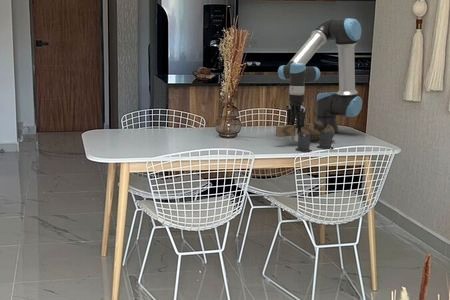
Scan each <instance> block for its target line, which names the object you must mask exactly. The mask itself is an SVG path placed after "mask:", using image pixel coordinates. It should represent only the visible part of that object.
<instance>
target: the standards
mask: <svg viewBox="0 0 450 300" xmlns="http://www.w3.org/2000/svg"><path fill="white" fill-rule="evenodd" d="M331 138H332V131H328V132H327V134H325V130H320V141H319V144H318V145H316V148H317V149H323V150H325V149H330V148H333V149H334V147H333V146H332V141H331ZM332 139H333V138H332ZM310 142H311V141H310V133H308V134H305V135H303V132H298V141H297V148H295V149H294V150H295V151H298V152H300V153H311V152H310V151H313V150H312V149H310V145H311V143H310ZM330 150H331V149H330Z"/></svg>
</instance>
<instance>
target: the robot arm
mask: <svg viewBox="0 0 450 300" xmlns="http://www.w3.org/2000/svg"><path fill="white" fill-rule="evenodd" d="M361 36H362V26H361V23H360V22H359V21H358V19H355V18H349V17H348V18H347V17H345V18H328V19H326V20H325V21H324V20H323V22H321V23H320V24H318V25H317V26H316V27H315V28H314V29H313V30H312V32H311V33H310V37H309V38H308V39H307V40H306V41H305V42H304V44H303V45H302V46H301V47H300V48H299V50H298V51H297V52H296V53H295V54H294V56H293V57H292V58H291V59H290V60H289V61H288V63H287V64H286V65H285V64H284V65H280V66H279V67H278V69H277V75H278V78H279V79H281V80H284V81H285V80H286V81H289V89H288V90H289V94H288V102H289V105H285V108H286V125H297V127H296V130H295V136H289V140H290V141H292V140H294V142H298V132H301V128H302V127H304V125H305V124H306V123H305V122H306V112H307V108H305V107H304V106H303V103H304V101H305V95H304V94H305V85H306V84H305V82H311V83H312V82H317V81H318V80H319V79H320V76H321V71H320V69H319V68H318V67H317V66H306V64H308V62H309V61H310V60H311V59H312V57H313V56H314V55H315V53H316V52H318V50H319V49H320V47H321V46H323V45H325V44H326V43H327V42H329V41H335V42H334V44H335V45H336V46H337V49H338V53H337V54H338V85H339V86H338V88H339V89H338V91H332V92H331V91H329V92H328V91H327V92H319V93H318V94H317V95H316V106H315V107H316V108H315V109H316V112H315V114H316V115H315V121H321V122H322V123H323V127H324V129H325V128H326V127H327V125H330V126H332V127H333V129H334V130H335V133H334V134H339V131H340V128H339V125H338V121H337V116H341V117H347V118H354V117H357V116H358V115H359V114H360V112H361V111H362V107H363V99H362V98H361V96H359V93H358V91H357V90H356V79H355V78H356V77H355V74H356V72H355V71H356V70H355V63H356V62H355V46H356V45H358V40H360V39H361ZM295 121H296V122H295ZM295 123H296V124H295Z"/></svg>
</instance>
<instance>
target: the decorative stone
mask: <svg viewBox="0 0 450 300" xmlns="http://www.w3.org/2000/svg"><path fill="white" fill-rule="evenodd" d="M311 124H314V134H310V142H316V141H318V142H320V130H325V134H327V132H328V131H332V138H331V142H332V141H333V138H334V137H335V134H336V133H335V130H334V129H333V127H332V126H330V125H327V127H326V128H325V129H324V127H323V123H322V122H321V121H313V122H312V123H311Z"/></svg>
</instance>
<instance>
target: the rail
mask: <svg viewBox="0 0 450 300" xmlns="http://www.w3.org/2000/svg"><path fill="white" fill-rule="evenodd" d="M296 127H297V124H294V125H287V124H286V125H276V126H275V137H278V138H284V137H290V136H295V130H296ZM301 132H303V136H305V134H308V133H310V134H314V124H312V123H305V125H304V127H302V128H301Z"/></svg>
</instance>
